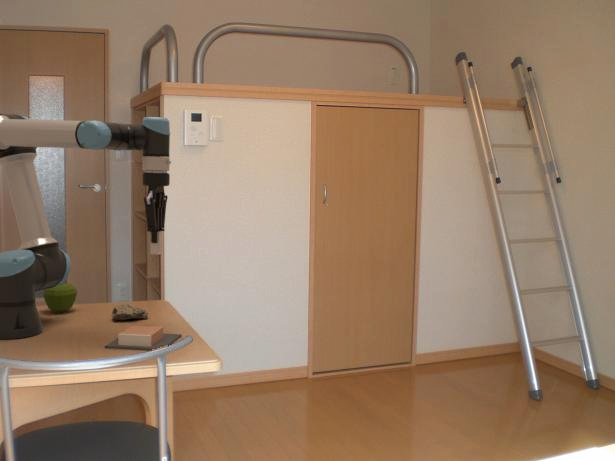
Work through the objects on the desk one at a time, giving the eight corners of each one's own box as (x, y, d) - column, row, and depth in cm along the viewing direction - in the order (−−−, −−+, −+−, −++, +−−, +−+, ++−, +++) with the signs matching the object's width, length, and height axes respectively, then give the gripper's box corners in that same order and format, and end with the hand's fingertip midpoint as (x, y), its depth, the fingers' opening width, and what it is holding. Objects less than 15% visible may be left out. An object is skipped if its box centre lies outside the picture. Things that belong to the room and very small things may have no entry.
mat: (104, 347, 186) (104, 345, 186) (128, 333, 202) (128, 331, 202) (162, 351, 184) (162, 349, 184) (181, 336, 200) (181, 334, 200)
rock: (148, 322, 218) (148, 308, 217) (111, 323, 215) (111, 309, 214) (147, 315, 228) (147, 302, 227) (112, 316, 225) (112, 303, 224)
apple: (67, 316, 223) (66, 285, 222) (36, 314, 225) (36, 284, 224) (83, 309, 234) (82, 279, 233) (54, 307, 235) (53, 278, 234)
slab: (132, 335, 197) (118, 345, 187) (132, 325, 197) (118, 334, 187) (163, 337, 196) (150, 346, 186) (163, 327, 195) (150, 335, 186)
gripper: (160, 172, 191) (160, 257, 194) (176, 172, 204) (175, 251, 206) (134, 171, 192) (134, 256, 195) (151, 171, 205) (151, 250, 207)
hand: (155, 253), depth 200 cm, fingers closed
